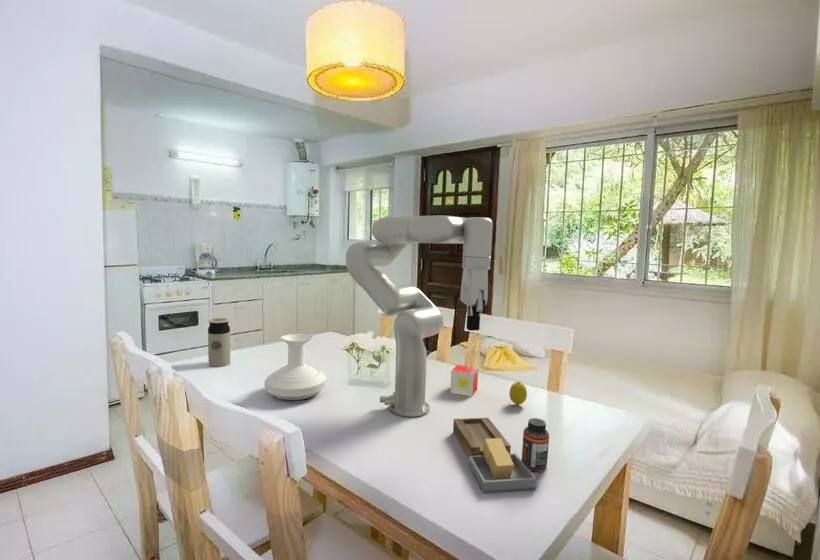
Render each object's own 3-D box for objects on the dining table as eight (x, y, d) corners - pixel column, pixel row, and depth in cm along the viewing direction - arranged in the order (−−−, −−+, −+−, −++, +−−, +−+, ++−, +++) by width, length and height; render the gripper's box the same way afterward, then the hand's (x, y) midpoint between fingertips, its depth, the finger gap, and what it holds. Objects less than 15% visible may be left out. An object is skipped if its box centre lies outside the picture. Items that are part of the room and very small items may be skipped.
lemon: (526, 409, 137) (528, 385, 136) (509, 407, 138) (510, 383, 137) (525, 403, 142) (527, 379, 142) (508, 401, 144) (509, 378, 143)
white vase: (323, 381, 156) (323, 329, 154) (329, 402, 137) (330, 343, 135) (265, 385, 150) (265, 331, 148) (264, 407, 131) (264, 346, 129)
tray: (483, 493, 92) (483, 482, 91) (467, 465, 102) (468, 455, 102) (535, 489, 94) (536, 478, 93) (515, 462, 104) (515, 453, 104)
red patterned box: (450, 392, 149) (451, 371, 148) (455, 385, 157) (456, 364, 156) (472, 396, 147) (473, 374, 146) (477, 389, 154) (478, 367, 153)
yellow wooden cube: (488, 464, 100) (493, 478, 96) (491, 451, 98) (496, 466, 95) (504, 463, 101) (510, 477, 97) (507, 450, 99) (513, 464, 95)
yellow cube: (487, 464, 100) (490, 452, 98) (482, 451, 103) (485, 438, 102) (503, 463, 101) (506, 451, 99) (498, 450, 104) (501, 438, 102)
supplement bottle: (517, 459, 106) (520, 415, 105) (541, 459, 106) (544, 415, 105) (526, 473, 100) (529, 426, 99) (550, 472, 101) (554, 426, 99)
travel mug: (216, 360, 176) (215, 317, 174) (234, 361, 175) (233, 318, 173) (204, 366, 168) (203, 321, 166) (223, 367, 167) (222, 322, 165)
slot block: (470, 463, 103) (471, 447, 103) (453, 432, 119) (453, 418, 119) (509, 461, 105) (510, 445, 105) (487, 431, 121) (488, 417, 120)
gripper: (455, 261, 122) (452, 324, 124) (471, 265, 108) (467, 336, 110) (480, 261, 124) (477, 323, 126) (499, 265, 109) (495, 336, 111)
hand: (472, 329), depth 118 cm, fingers closed
